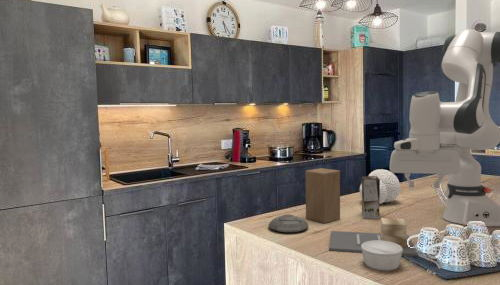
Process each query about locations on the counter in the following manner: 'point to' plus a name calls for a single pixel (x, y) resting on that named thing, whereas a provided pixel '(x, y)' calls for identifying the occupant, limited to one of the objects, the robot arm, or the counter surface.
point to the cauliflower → (386, 185)
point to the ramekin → (382, 254)
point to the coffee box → (370, 197)
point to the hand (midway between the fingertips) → (423, 187)
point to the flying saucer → (288, 223)
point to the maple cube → (394, 231)
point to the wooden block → (323, 195)
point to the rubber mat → (360, 242)
